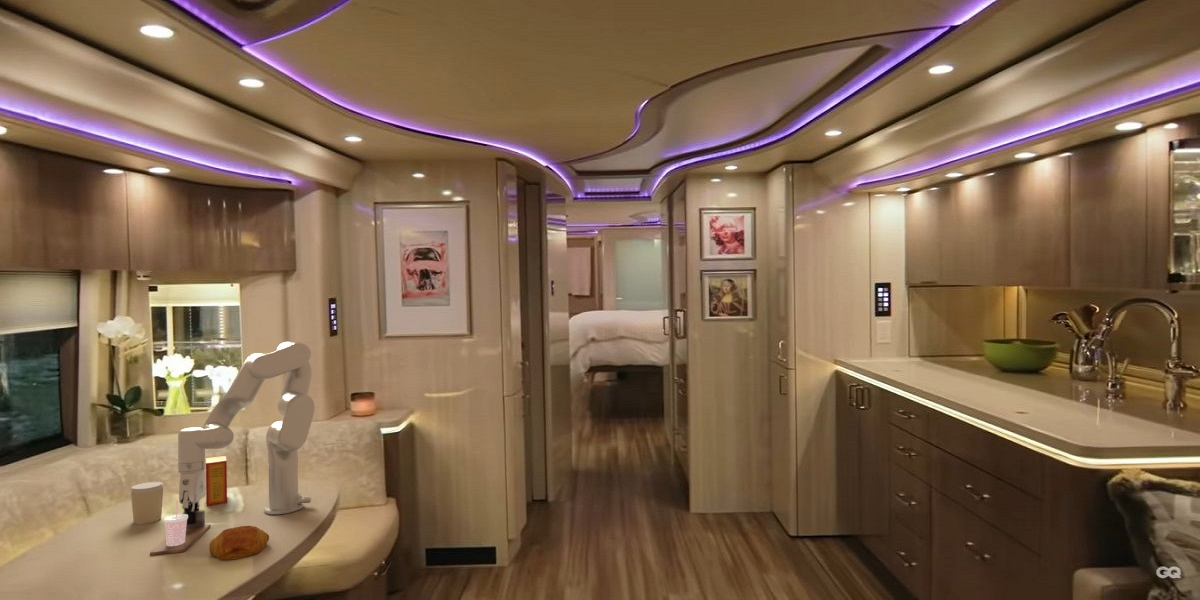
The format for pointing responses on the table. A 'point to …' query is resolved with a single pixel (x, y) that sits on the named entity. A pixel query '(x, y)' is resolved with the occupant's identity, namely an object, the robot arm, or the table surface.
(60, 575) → the table surface
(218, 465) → the baking soda box
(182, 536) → the beverage cup
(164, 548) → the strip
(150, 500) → the coffee cup
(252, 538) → the croissant
